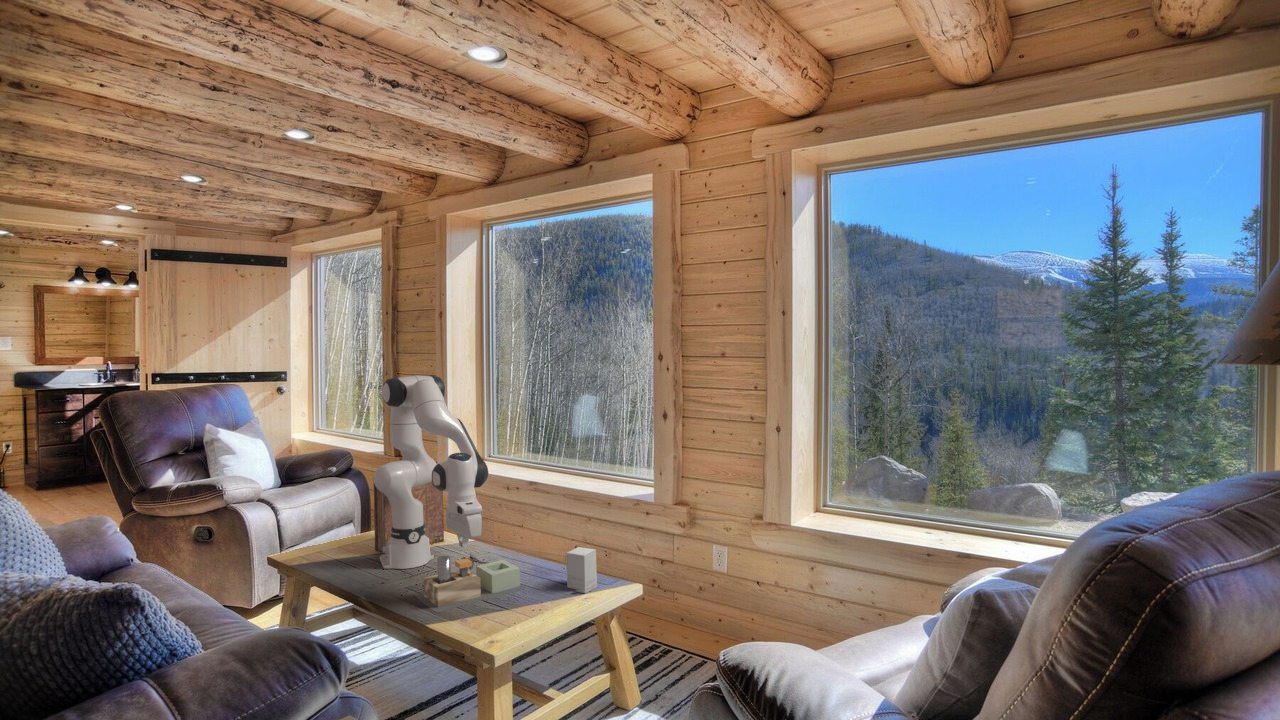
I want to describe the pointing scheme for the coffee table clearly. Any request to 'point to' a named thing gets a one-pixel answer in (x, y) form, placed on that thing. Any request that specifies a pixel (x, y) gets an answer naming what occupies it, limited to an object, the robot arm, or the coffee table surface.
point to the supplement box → (581, 569)
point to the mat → (484, 595)
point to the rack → (498, 576)
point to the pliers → (474, 561)
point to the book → (431, 514)
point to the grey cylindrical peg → (443, 569)
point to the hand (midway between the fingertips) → (463, 546)
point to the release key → (463, 566)
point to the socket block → (452, 589)
